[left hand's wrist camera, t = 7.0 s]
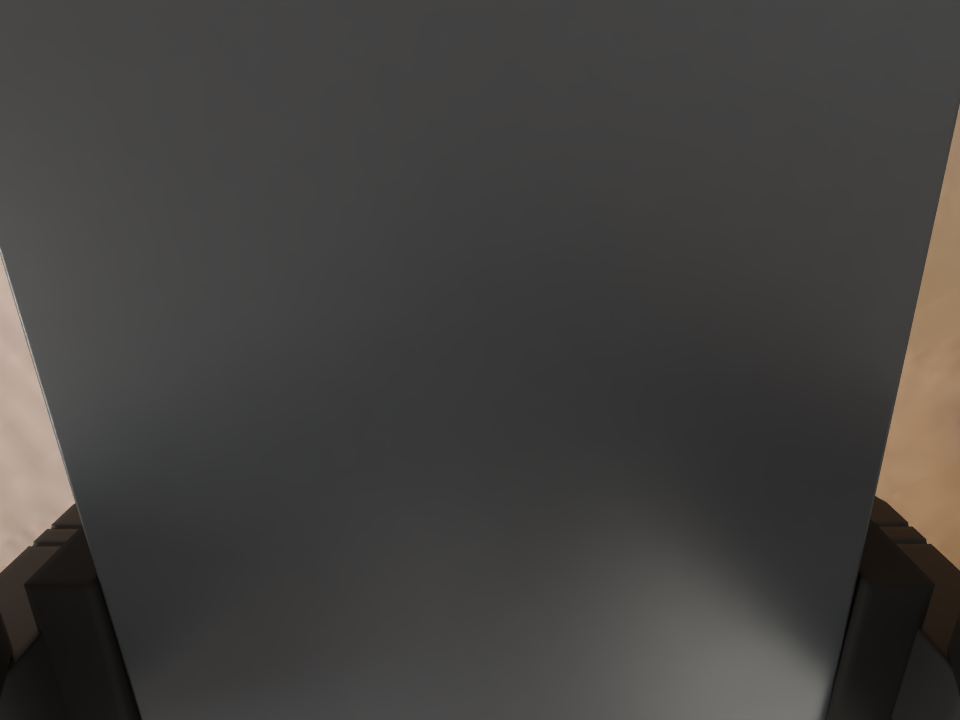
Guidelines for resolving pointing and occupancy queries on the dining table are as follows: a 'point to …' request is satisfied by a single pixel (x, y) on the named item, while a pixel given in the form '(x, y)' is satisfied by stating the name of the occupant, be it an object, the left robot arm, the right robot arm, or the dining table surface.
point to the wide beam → (474, 338)
